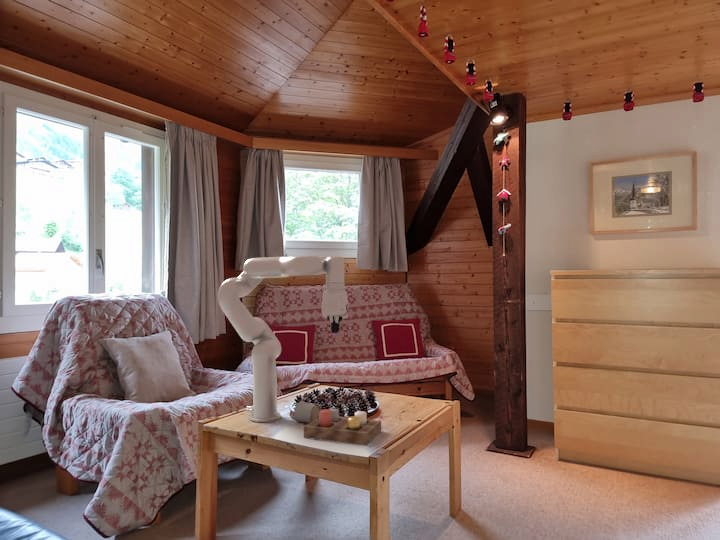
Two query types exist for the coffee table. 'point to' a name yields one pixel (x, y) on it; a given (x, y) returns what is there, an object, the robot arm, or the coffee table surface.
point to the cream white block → (362, 417)
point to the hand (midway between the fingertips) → (335, 332)
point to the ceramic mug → (306, 412)
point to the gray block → (335, 415)
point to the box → (343, 431)
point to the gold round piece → (354, 423)
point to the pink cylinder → (325, 418)
